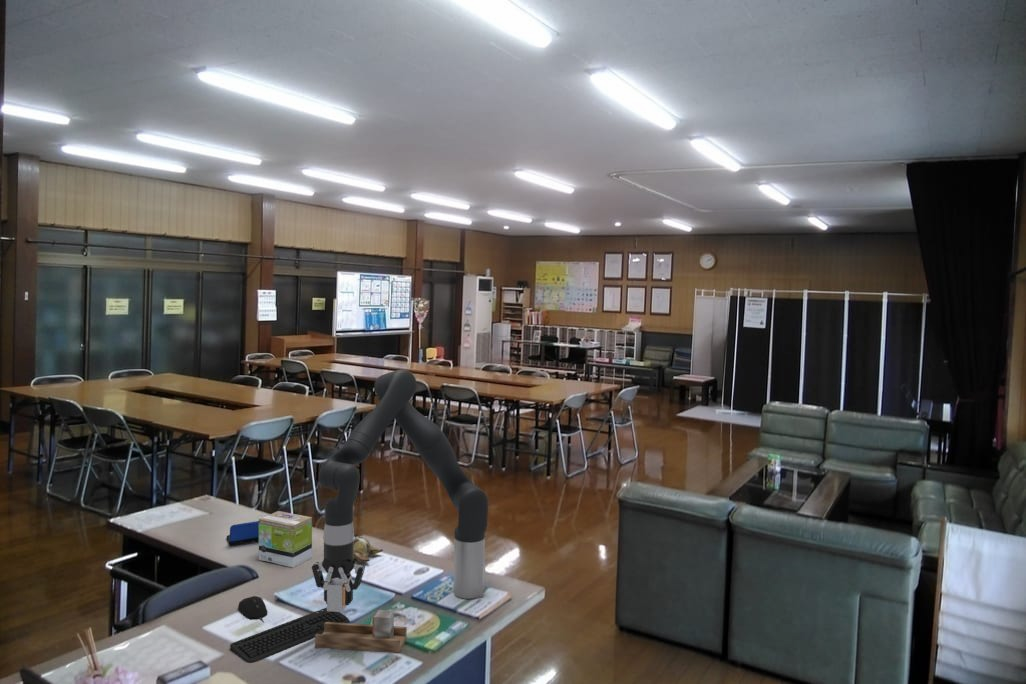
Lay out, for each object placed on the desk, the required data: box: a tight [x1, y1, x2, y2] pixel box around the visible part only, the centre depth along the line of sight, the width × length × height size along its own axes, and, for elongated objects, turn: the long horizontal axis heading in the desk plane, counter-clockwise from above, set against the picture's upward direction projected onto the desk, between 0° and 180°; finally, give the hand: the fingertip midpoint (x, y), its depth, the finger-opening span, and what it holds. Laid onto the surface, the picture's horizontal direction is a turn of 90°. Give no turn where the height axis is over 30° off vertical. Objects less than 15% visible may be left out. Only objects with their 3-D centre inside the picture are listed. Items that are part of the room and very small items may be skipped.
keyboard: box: [229, 606, 351, 664], centre depth 178 cm, size 30×11×2 cm, turn 138°
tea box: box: [258, 510, 313, 569], centre depth 229 cm, size 15×10×15 cm
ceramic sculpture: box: [353, 533, 384, 563], centre depth 231 cm, size 11×9×15 cm
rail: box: [314, 609, 408, 653], centre depth 175 cm, size 22×8×8 cm, turn 85°
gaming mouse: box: [237, 595, 268, 623], centre depth 191 cm, size 6×15×4 cm, turn 40°
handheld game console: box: [226, 520, 259, 547], centre depth 247 cm, size 16×13×9 cm
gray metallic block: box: [326, 578, 348, 613], centre depth 175 cm, size 4×5×7 cm
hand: (338, 602), depth 175 cm, fingers closed on gray metallic block, 4 cm apart
